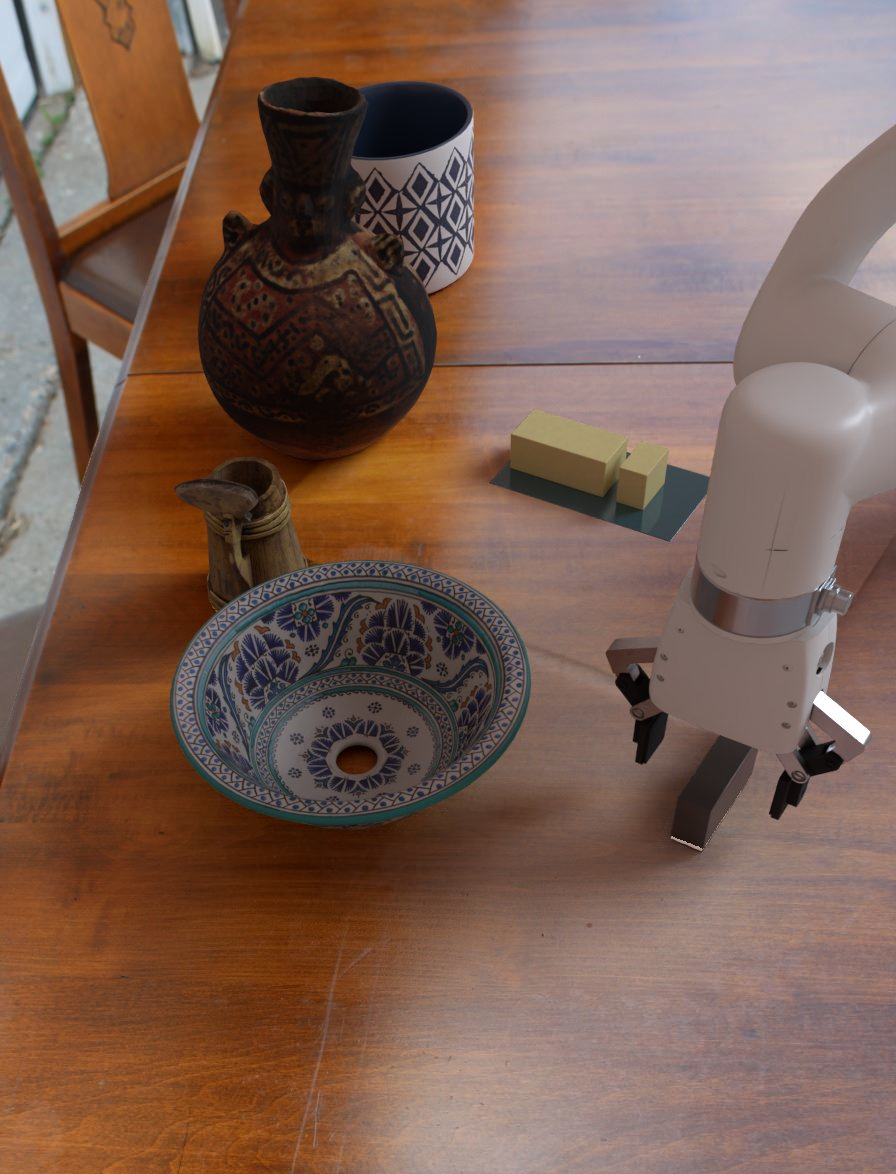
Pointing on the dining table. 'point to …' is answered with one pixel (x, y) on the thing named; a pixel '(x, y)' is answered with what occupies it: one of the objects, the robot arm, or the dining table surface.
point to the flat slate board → (654, 520)
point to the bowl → (350, 692)
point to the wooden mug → (244, 526)
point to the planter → (419, 175)
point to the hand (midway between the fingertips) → (714, 777)
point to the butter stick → (568, 452)
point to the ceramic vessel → (314, 292)
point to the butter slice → (642, 475)
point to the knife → (712, 790)
